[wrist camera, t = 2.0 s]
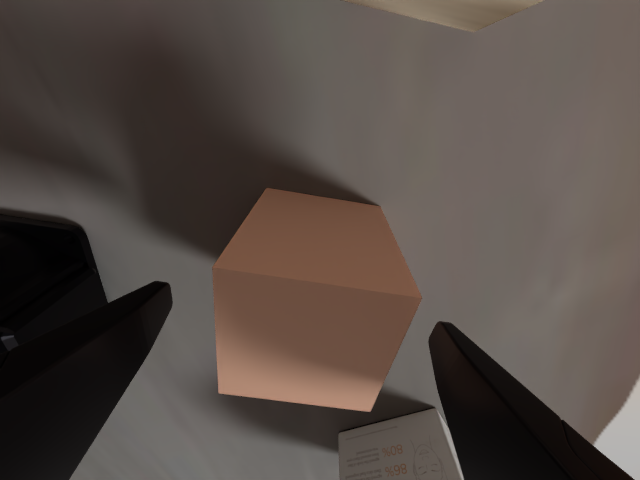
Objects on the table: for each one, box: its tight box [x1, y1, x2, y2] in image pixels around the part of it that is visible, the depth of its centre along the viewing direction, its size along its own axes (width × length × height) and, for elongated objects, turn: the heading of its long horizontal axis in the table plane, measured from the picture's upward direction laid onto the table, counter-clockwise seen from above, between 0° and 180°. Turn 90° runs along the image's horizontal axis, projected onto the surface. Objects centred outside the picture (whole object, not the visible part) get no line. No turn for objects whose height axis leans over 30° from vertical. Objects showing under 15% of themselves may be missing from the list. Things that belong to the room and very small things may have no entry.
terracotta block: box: [212, 188, 422, 412], centre depth 10 cm, size 5×5×6 cm
